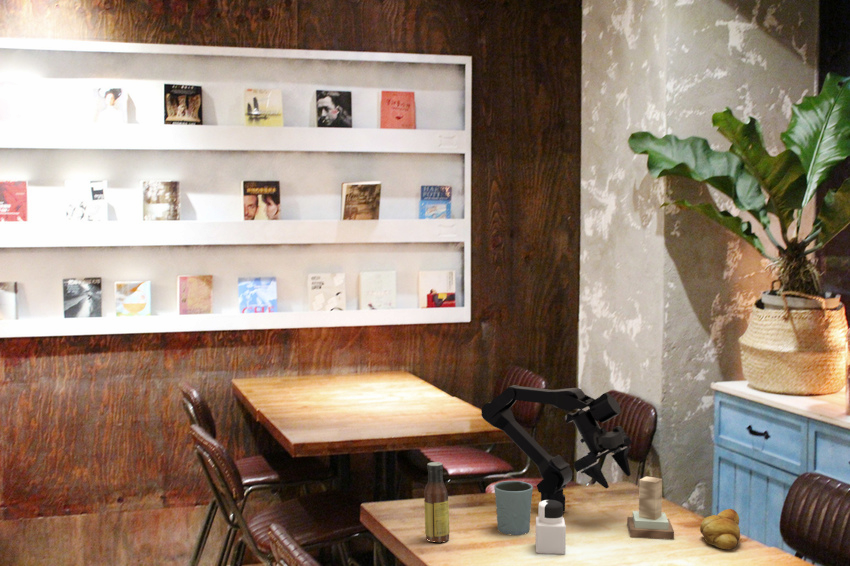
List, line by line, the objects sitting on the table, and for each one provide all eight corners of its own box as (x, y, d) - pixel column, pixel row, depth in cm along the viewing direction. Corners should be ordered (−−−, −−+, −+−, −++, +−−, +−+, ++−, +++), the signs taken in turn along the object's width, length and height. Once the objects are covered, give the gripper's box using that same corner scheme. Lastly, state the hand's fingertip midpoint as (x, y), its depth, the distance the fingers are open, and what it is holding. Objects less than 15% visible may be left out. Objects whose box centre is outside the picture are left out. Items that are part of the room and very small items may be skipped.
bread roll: (742, 554, 216) (743, 522, 216) (701, 550, 218) (702, 518, 218) (737, 537, 228) (738, 506, 228) (698, 534, 231) (699, 504, 231)
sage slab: (635, 528, 229) (635, 520, 229) (632, 518, 237) (632, 510, 237) (668, 530, 227) (668, 522, 227) (664, 519, 236) (664, 512, 236)
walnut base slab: (630, 537, 228) (630, 529, 228) (627, 523, 239) (627, 516, 239) (673, 539, 226) (674, 531, 226) (668, 526, 237) (669, 518, 237)
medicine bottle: (563, 544, 222) (564, 498, 221) (565, 554, 215) (566, 506, 214) (535, 543, 223) (535, 497, 222) (536, 553, 215) (536, 505, 215)
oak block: (638, 517, 232) (639, 479, 231) (645, 512, 235) (645, 476, 235) (655, 520, 229) (655, 482, 229) (661, 516, 233) (662, 478, 232)
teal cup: (537, 527, 236) (537, 483, 235) (525, 538, 226) (525, 493, 226) (501, 522, 240) (501, 478, 239) (488, 533, 231) (488, 488, 230)
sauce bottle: (452, 537, 227) (452, 461, 226) (445, 545, 221) (445, 467, 220) (428, 534, 229) (428, 459, 228) (420, 542, 223) (420, 465, 222)
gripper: (584, 431, 231) (614, 485, 226) (629, 409, 242) (658, 460, 237) (560, 445, 239) (589, 497, 235) (605, 423, 250) (633, 473, 246)
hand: (618, 481), depth 238 cm, fingers open, 9 cm apart
